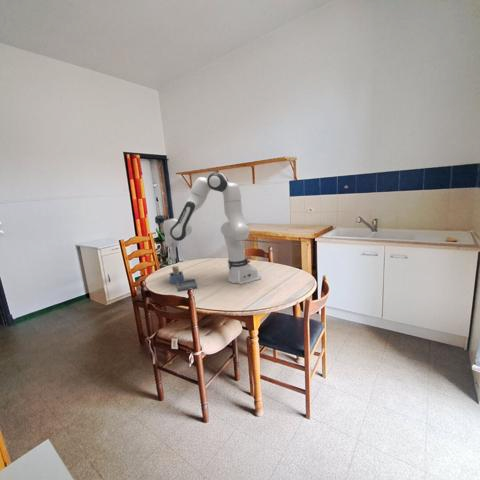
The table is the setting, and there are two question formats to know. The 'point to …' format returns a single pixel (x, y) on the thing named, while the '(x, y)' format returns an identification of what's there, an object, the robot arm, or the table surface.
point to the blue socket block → (176, 277)
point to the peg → (175, 271)
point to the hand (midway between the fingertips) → (174, 261)
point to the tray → (187, 284)
